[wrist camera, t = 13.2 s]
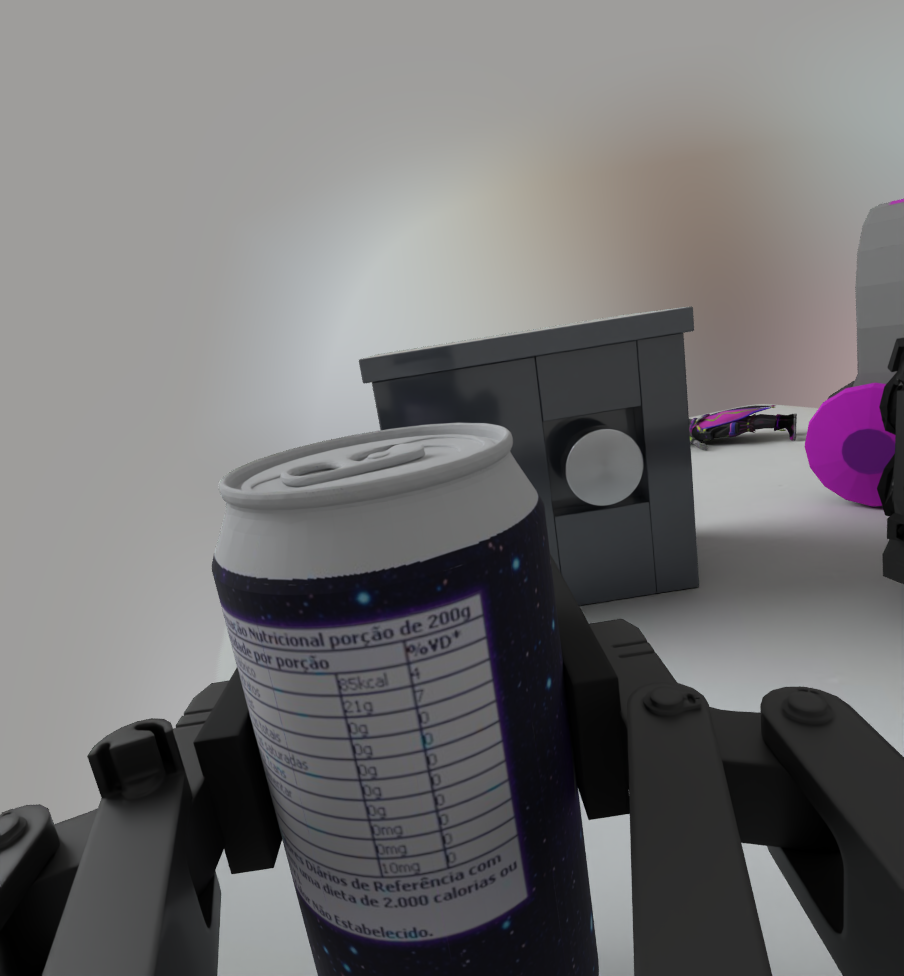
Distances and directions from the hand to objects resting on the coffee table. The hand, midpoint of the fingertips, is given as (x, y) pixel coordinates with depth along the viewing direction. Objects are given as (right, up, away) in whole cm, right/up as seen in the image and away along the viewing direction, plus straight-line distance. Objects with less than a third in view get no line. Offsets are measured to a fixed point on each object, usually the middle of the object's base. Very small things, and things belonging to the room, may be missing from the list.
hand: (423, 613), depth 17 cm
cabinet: (+7, -2, +22) cm, 24 cm away
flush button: (+9, +3, +16) cm, 18 cm away
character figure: (+30, +8, +51) cm, 60 cm away
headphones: (+36, +4, +31) cm, 48 cm away
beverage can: (+1, -8, -3) cm, 8 cm away
